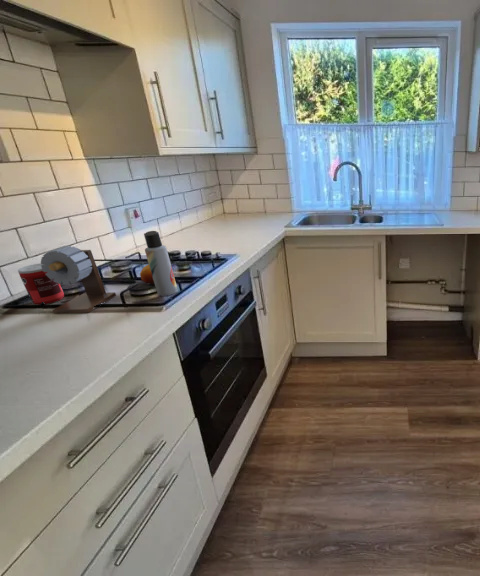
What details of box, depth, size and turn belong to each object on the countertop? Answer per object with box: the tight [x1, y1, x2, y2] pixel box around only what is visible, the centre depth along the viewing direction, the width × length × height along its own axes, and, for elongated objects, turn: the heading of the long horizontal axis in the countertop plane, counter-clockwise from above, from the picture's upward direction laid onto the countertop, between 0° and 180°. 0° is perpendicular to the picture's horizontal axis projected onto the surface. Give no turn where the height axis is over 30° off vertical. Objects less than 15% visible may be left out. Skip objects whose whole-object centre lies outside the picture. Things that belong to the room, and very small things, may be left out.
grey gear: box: [40, 245, 92, 286], centre depth 103 cm, size 10×5×10 cm, turn 91°
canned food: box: [17, 262, 65, 306], centre depth 111 cm, size 8×8×11 cm
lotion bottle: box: [143, 230, 178, 297], centre depth 112 cm, size 6×6×20 cm
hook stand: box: [49, 249, 117, 315], centre depth 106 cm, size 10×12×16 cm
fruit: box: [139, 263, 155, 285], centre depth 124 cm, size 8×8×8 cm
